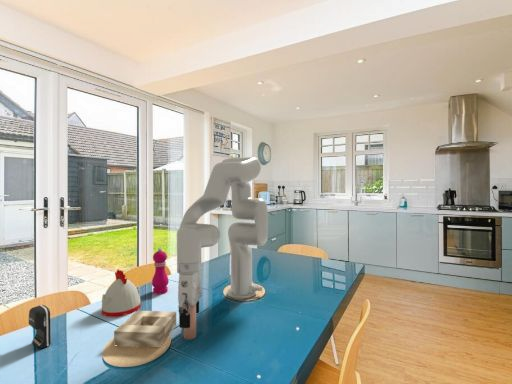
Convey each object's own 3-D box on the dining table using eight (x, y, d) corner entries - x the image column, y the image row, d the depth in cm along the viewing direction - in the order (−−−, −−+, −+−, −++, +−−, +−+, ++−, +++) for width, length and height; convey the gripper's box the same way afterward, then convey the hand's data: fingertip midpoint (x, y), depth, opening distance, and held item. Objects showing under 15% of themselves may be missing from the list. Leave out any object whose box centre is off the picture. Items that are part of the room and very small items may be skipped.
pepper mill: (163, 295, 124) (163, 250, 123) (148, 294, 125) (148, 249, 125) (171, 289, 131) (171, 246, 130) (157, 288, 132) (156, 245, 132)
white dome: (130, 298, 120) (129, 263, 120) (147, 307, 112) (146, 269, 111) (95, 310, 110) (94, 271, 109) (111, 320, 101) (110, 279, 100)
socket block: (176, 324, 98) (176, 311, 98) (159, 347, 84) (159, 332, 84) (137, 323, 99) (137, 310, 99) (114, 346, 85) (114, 331, 85)
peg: (197, 333, 92) (197, 296, 92) (194, 339, 88) (193, 301, 88) (185, 332, 92) (185, 296, 92) (181, 339, 88) (181, 301, 88)
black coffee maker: (27, 344, 86) (27, 307, 86) (42, 338, 89) (42, 302, 89) (36, 352, 82) (35, 313, 82) (51, 345, 85) (50, 308, 85)
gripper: (192, 275, 81) (193, 334, 81) (207, 259, 98) (208, 308, 98) (167, 274, 81) (167, 333, 82) (186, 259, 99) (186, 307, 99)
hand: (189, 319), depth 90 cm, fingers open, 9 cm apart
